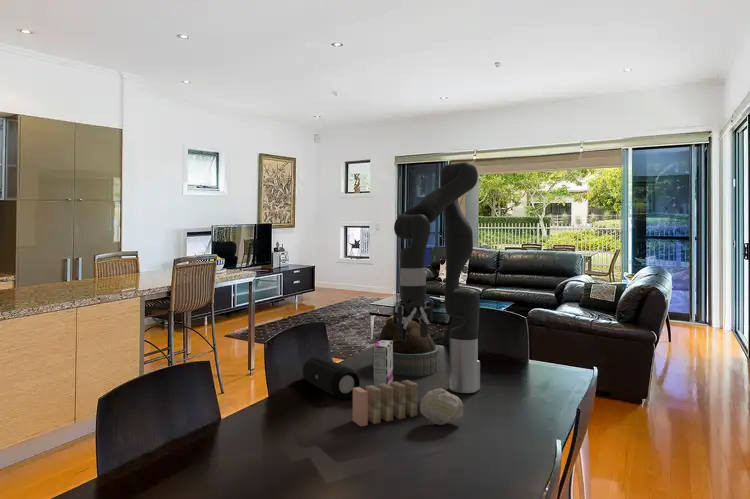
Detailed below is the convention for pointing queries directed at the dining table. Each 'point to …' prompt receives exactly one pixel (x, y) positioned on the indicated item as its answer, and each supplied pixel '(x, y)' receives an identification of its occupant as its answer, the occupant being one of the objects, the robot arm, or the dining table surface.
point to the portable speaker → (331, 377)
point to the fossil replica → (441, 406)
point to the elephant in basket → (411, 350)
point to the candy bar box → (383, 362)
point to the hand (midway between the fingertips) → (413, 339)
